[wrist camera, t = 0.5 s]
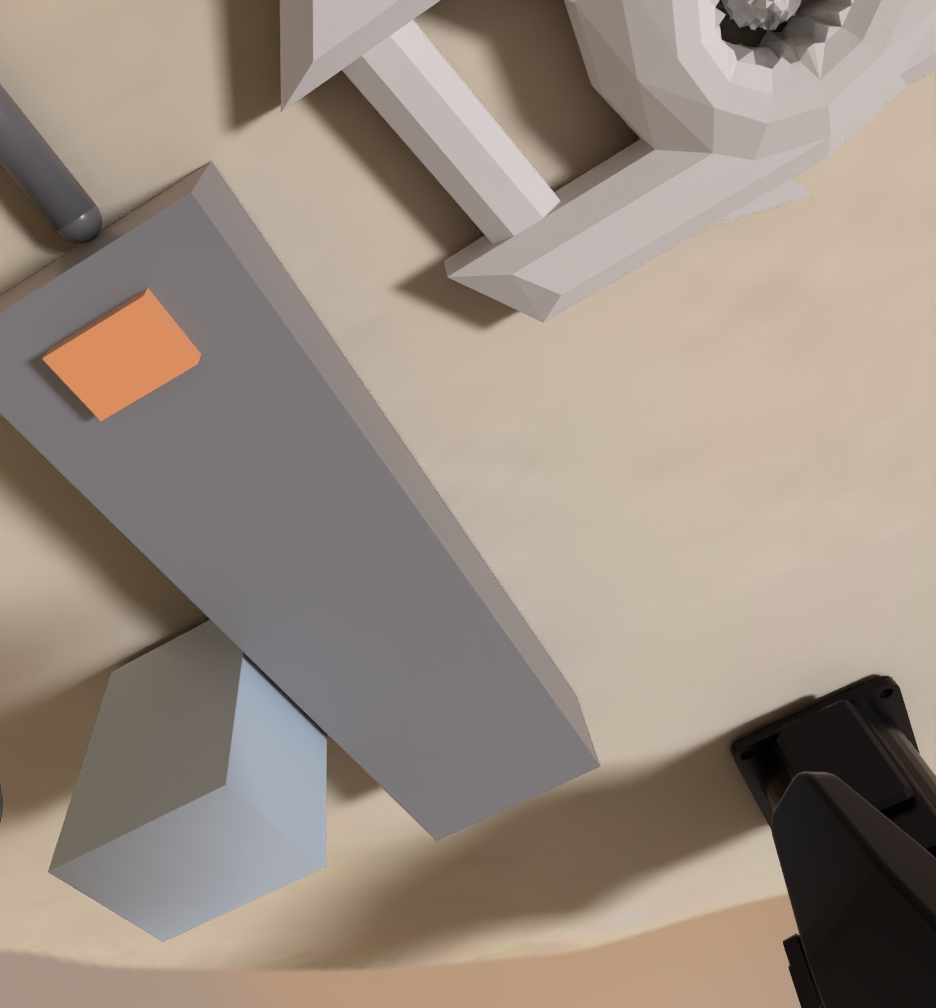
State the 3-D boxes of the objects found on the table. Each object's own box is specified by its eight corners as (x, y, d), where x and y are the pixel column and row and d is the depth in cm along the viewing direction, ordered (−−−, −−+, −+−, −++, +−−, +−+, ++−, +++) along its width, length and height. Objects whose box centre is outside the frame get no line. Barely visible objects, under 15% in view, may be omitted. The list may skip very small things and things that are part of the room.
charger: (327, 678, 25) (326, 867, 20) (193, 745, 26) (158, 944, 21) (250, 598, 23) (225, 784, 18) (107, 674, 24) (43, 874, 19)
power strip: (576, 696, 28) (604, 779, 25) (421, 769, 29) (431, 857, 26) (-57, -230, 13) (-162, -287, 11) (-327, -21, 14) (-492, -20, 11)
